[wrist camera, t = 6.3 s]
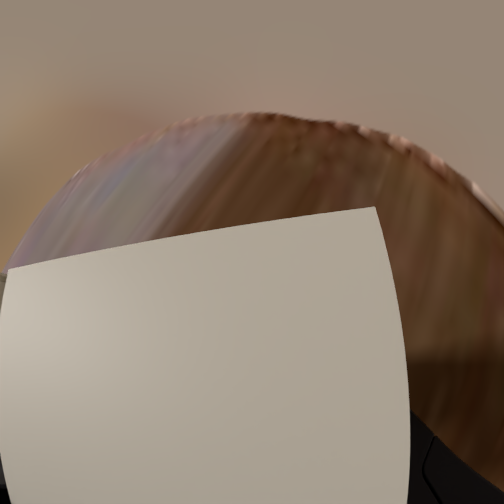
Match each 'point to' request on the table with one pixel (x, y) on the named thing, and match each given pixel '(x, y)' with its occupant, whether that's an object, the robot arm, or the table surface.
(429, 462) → the robot arm
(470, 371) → the table surface
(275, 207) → the table surface
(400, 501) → the tea tin
